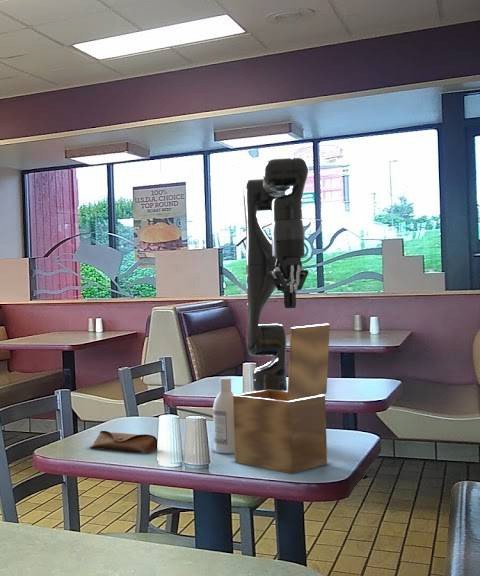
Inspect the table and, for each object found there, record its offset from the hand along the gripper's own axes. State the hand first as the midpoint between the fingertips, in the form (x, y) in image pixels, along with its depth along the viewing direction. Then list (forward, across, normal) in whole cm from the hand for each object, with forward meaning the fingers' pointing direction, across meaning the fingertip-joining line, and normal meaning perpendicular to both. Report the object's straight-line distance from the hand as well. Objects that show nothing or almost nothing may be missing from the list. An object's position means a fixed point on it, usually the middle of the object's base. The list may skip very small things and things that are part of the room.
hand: (290, 308), depth 205 cm
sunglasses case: (+39, +16, -45) cm, 62 cm away
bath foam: (+40, -2, -23) cm, 46 cm away
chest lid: (+13, 0, +4) cm, 14 cm away
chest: (+40, 0, -5) cm, 40 cm away
